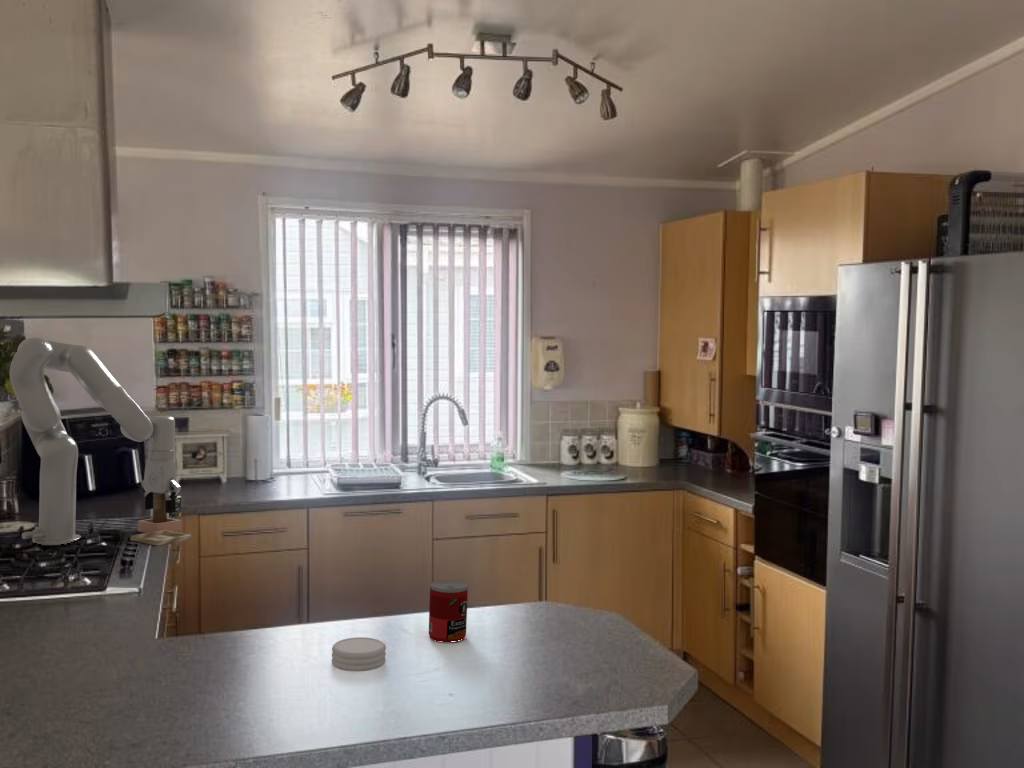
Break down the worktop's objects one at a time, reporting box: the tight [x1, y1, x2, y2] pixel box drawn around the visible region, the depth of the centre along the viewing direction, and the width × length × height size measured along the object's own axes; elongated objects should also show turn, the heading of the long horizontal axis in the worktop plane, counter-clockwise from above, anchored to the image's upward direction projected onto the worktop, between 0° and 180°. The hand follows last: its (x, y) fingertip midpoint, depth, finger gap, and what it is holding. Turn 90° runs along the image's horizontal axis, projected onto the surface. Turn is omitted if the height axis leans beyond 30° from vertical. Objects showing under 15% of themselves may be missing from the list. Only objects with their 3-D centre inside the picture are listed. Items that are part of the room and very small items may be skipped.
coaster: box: [331, 636, 387, 672], centre depth 165 cm, size 10×10×4 cm
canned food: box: [428, 579, 469, 642], centre depth 181 cm, size 8×8×11 cm
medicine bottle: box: [150, 493, 182, 519], centre depth 299 cm, size 7×7×12 cm
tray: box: [129, 530, 192, 547], centre depth 261 cm, size 12×12×2 cm
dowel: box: [153, 493, 167, 523], centre depth 274 cm, size 4×4×14 cm
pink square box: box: [137, 517, 182, 534], centre depth 274 cm, size 9×9×4 cm
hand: (160, 510), depth 274 cm, fingers open, 9 cm apart
